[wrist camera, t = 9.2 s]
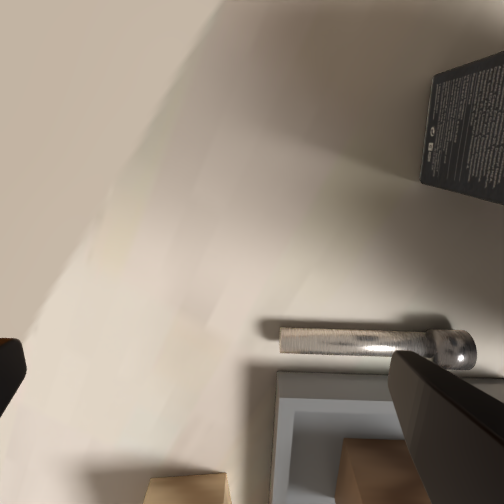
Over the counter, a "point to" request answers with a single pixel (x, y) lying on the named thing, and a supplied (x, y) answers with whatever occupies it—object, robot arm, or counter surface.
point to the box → (467, 130)
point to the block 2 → (378, 474)
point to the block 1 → (189, 490)
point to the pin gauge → (383, 344)
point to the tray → (330, 428)
